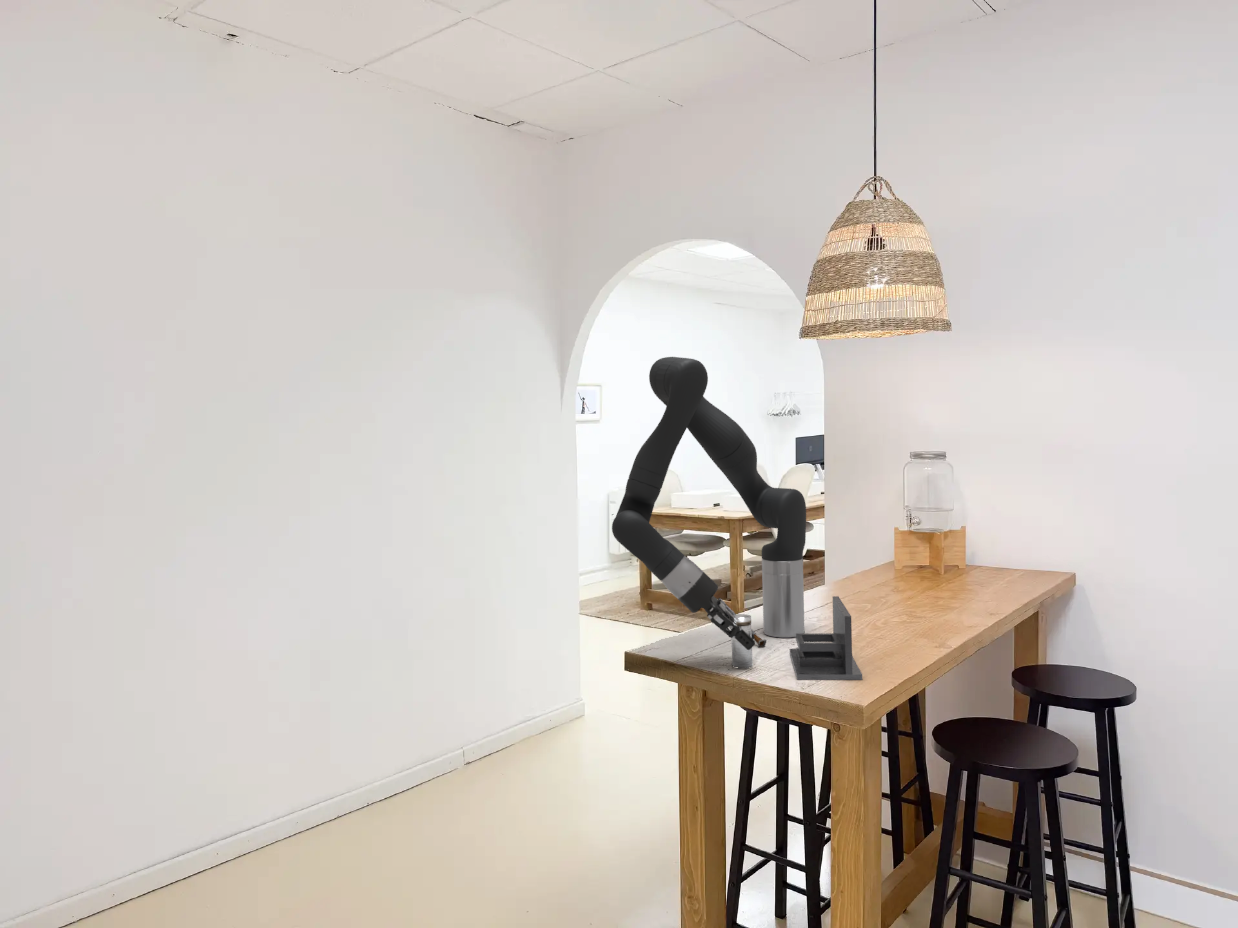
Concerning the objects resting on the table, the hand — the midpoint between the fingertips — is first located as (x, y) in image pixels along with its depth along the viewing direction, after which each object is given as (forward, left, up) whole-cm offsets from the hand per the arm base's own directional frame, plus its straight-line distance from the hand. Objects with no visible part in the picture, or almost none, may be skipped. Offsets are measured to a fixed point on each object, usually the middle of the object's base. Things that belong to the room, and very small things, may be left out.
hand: (751, 643), depth 171 cm
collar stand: (0, +14, -5) cm, 15 cm away
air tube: (0, -2, -5) cm, 5 cm away
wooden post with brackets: (-17, 0, -5) cm, 17 cm away
